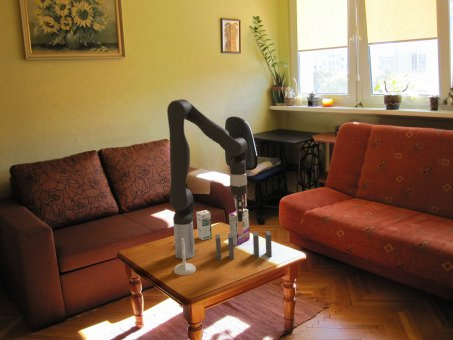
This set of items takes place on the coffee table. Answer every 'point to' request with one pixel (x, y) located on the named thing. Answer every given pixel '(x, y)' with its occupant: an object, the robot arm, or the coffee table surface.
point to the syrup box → (204, 224)
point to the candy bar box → (234, 230)
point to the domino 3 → (239, 226)
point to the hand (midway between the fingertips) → (239, 219)
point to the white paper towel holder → (184, 264)
